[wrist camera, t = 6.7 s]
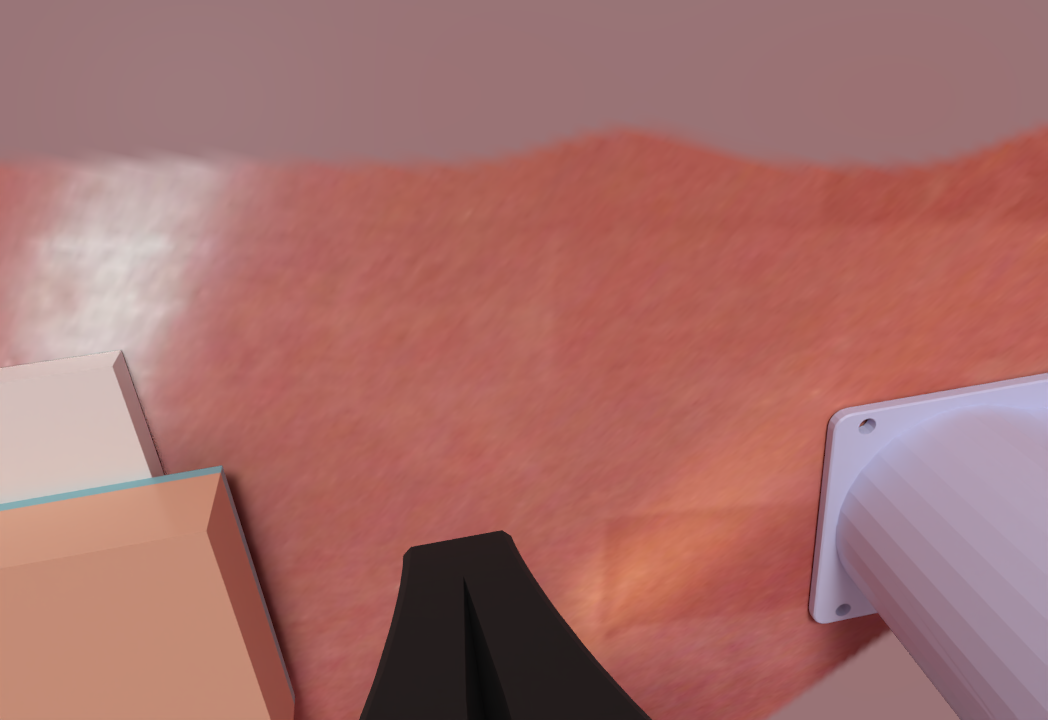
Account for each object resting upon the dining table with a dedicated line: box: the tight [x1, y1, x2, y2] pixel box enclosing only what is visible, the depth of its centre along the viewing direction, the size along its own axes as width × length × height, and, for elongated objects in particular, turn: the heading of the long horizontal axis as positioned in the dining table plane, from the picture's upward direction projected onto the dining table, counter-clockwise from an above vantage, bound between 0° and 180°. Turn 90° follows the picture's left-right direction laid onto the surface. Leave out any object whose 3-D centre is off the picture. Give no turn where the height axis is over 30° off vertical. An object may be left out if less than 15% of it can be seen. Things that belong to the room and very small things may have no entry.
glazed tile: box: [0, 466, 295, 720], centre depth 20 cm, size 2×8×7 cm
